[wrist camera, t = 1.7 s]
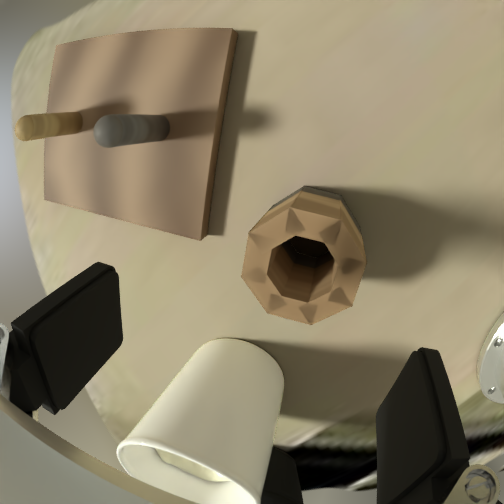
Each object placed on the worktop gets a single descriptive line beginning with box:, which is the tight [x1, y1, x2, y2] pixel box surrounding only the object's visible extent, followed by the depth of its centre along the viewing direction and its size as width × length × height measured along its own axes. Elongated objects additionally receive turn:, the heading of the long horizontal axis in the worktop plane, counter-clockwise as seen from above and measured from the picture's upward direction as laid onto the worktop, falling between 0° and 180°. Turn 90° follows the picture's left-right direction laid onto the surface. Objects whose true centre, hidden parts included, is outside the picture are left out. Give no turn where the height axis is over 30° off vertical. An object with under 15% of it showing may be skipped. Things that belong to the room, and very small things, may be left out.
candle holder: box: [117, 338, 284, 504], centre depth 21 cm, size 10×10×12 cm
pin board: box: [15, 28, 238, 241], centre depth 18 cm, size 16×14×7 cm
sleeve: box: [241, 186, 367, 325], centre depth 18 cm, size 6×6×6 cm
